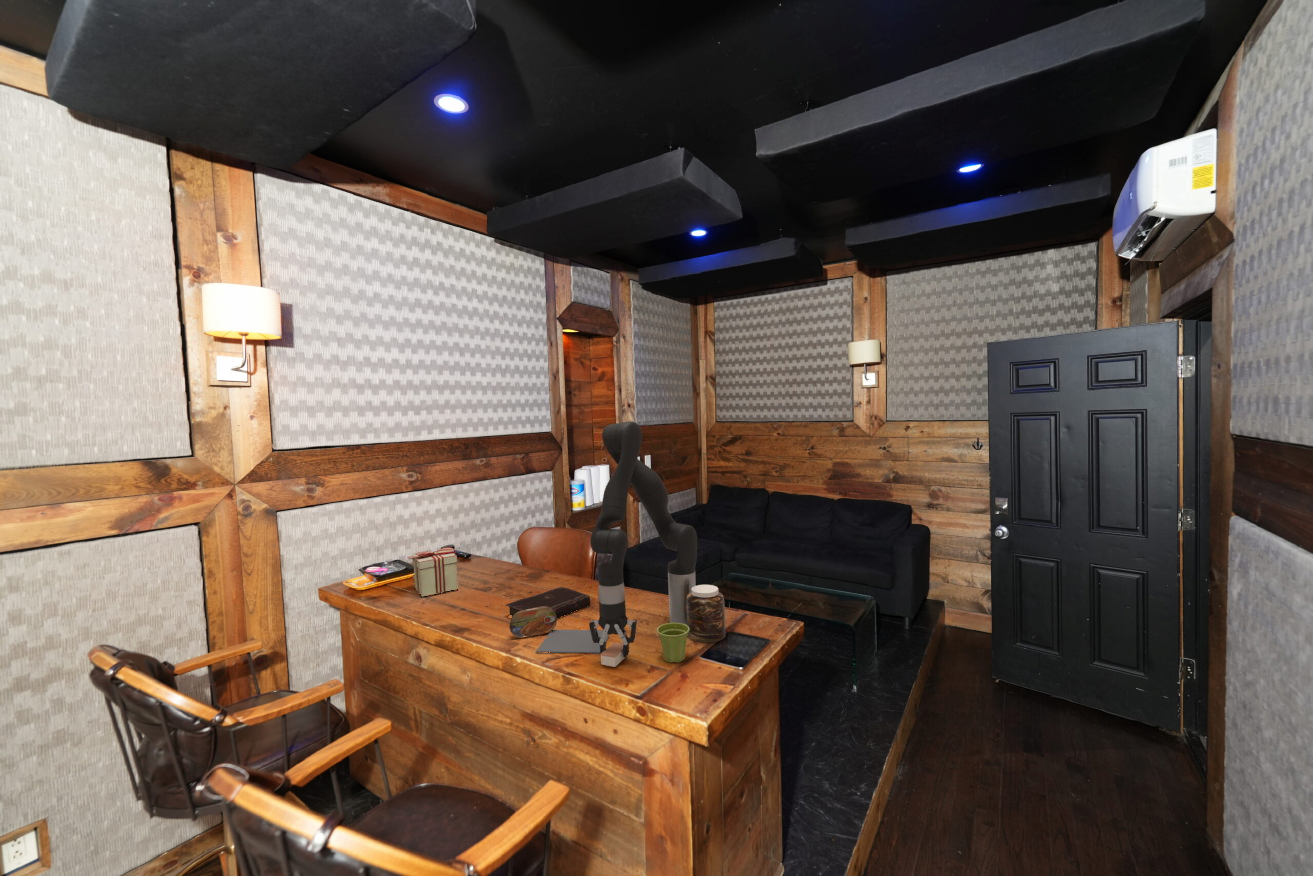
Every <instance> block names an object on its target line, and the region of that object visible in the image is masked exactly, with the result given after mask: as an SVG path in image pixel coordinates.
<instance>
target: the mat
mask: <svg viewBox="0 0 1313 876" xmlns="http://www.w3.org/2000/svg"><path fill="white" fill-rule="evenodd" d="M603 631H604V630H603V629H597V632H598V636H599V637H601V636H602V633H603ZM609 637H610V636H609V635H608V634H607V636H606V638H605V642H606V643H607V642H608V641H609ZM536 652H548V653H549V652H550V653H590V654H589V655H601V654H600V645H599V644H598V643H594V642H593V640H592V636H591V631H590V629H553V630H551V631H550V632H548V633H547V636H546V637H545V638H544V639H543V641H542V642H541V643H540V645H539V646H538V647H537V649H536V650H535V653H536ZM548 653H547V654H548ZM592 653H593V654H592Z"/></svg>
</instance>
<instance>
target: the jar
mask: <svg viewBox="0 0 1313 876" xmlns="http://www.w3.org/2000/svg"><path fill="white" fill-rule="evenodd" d="M691 591H692V592H691V593H689V594H688V595H687V626H688V627H689V632H688V635H687V638H689V639H690V640H692V641H694V642H697V643H705V644H709V643H716V642H720V641H722V640H724V639H725V638H726V634H727V633H726V610H725V609H726V607H725V606H726V605H725V598H724V595H723V593H722V592H720V591H719V588H718V586H716V585H713V584H698V585H696V586H694V587H692V589H691Z"/></svg>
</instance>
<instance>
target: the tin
mask: <svg viewBox="0 0 1313 876" xmlns="http://www.w3.org/2000/svg"><path fill="white" fill-rule="evenodd" d="M557 621H558V619H557V616H556V614H555V612H554V611H553V610H552V609H551V608H550V607H547V606H542V607H537V608H532V609H527V610H522V611H519V612H517V613H515V614H514V615H513V616H512V618H511V619H510V621H509V625H508V626H509V627H508V628H509V631H510V633H511V634H512V635H513V637H515V638H518V639H522V638H521V637H523V636H530V637H534V635H535V636H540V635H545V634H549V633H550V632H551V630H554V629H555V627H556V625H557Z"/></svg>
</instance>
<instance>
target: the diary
mask: <svg viewBox="0 0 1313 876" xmlns="http://www.w3.org/2000/svg"><path fill="white" fill-rule="evenodd" d="M505 606H507V607H508V609H509V615H512V616H513V615H514V614H515V613H517V612H519V611H522V610H527V609H532V608H537V607H542V606H547V607H550V608H551V609H552V610H553V611H554V612H555V614H556V616H557V618H559V619H561V618H560V617H561V616H564V615H567V614H569V613H571V612H574V611H576V610H579V609H581V610H583V609H582V608H584V609H586V608H588V607H587V606H589V607H591V596H590V595H589V594H586V593H582V592H580V591H577V590H574V589H573V588H572V589H571V588H567V587H564V586H559V587H556V588H553V589H550V590H547V591H545V592H541V593H538V594H536V595H531V596H528V597H524V598H521V599H517V600H514V601H512V602H509V603H506V604H505ZM585 607H586V608H585ZM579 611H580V610H579ZM576 612H577V611H576ZM574 613H575V612H574ZM571 614H572V613H571ZM569 615H570V614H569ZM567 616H568V615H567ZM564 617H565V616H564Z"/></svg>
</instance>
